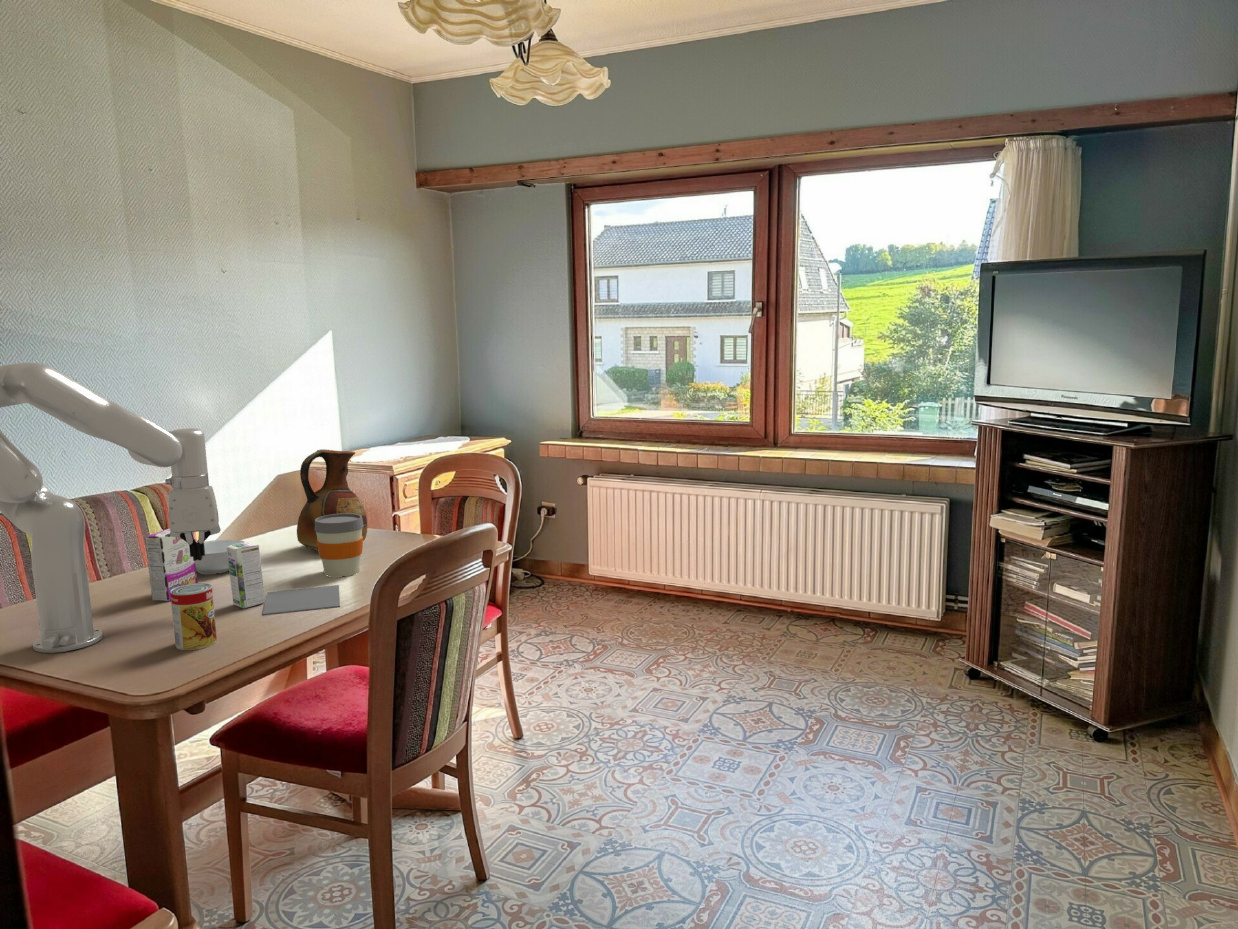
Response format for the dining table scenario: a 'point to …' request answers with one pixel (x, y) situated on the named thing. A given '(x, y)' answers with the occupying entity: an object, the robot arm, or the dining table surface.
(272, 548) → the dining table surface
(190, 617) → the canned food
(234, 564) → the syrup box
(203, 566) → the cereal bowl
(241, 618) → the dining table surface
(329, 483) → the ceramic pitcher
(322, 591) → the mat
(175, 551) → the candy bar box
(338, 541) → the reusable coffee cup
